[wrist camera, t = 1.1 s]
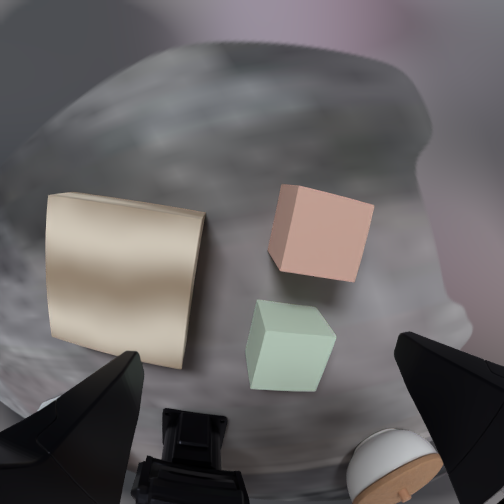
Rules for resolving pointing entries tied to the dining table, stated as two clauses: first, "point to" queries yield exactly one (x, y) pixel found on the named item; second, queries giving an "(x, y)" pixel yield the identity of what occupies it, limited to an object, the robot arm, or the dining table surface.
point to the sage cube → (287, 347)
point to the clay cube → (319, 233)
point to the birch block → (121, 274)
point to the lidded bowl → (391, 467)
